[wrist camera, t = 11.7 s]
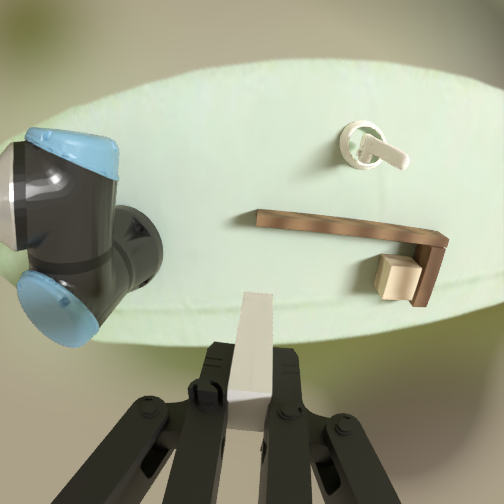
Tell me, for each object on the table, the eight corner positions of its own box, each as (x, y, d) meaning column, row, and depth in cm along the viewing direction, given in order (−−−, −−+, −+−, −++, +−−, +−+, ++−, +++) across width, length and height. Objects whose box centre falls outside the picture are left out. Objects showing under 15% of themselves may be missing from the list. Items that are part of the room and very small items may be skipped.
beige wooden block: (373, 284, 46) (382, 299, 42) (381, 253, 44) (391, 265, 39) (401, 286, 46) (411, 300, 42) (409, 256, 44) (422, 268, 39)
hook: (416, 195, 35) (392, 197, 31) (358, 162, 43) (330, 160, 40) (432, 148, 30) (410, 142, 27) (370, 120, 38) (341, 114, 35)
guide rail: (252, 281, 47) (250, 297, 43) (258, 208, 43) (256, 217, 38) (419, 293, 46) (430, 307, 42) (437, 231, 42) (452, 241, 37)
